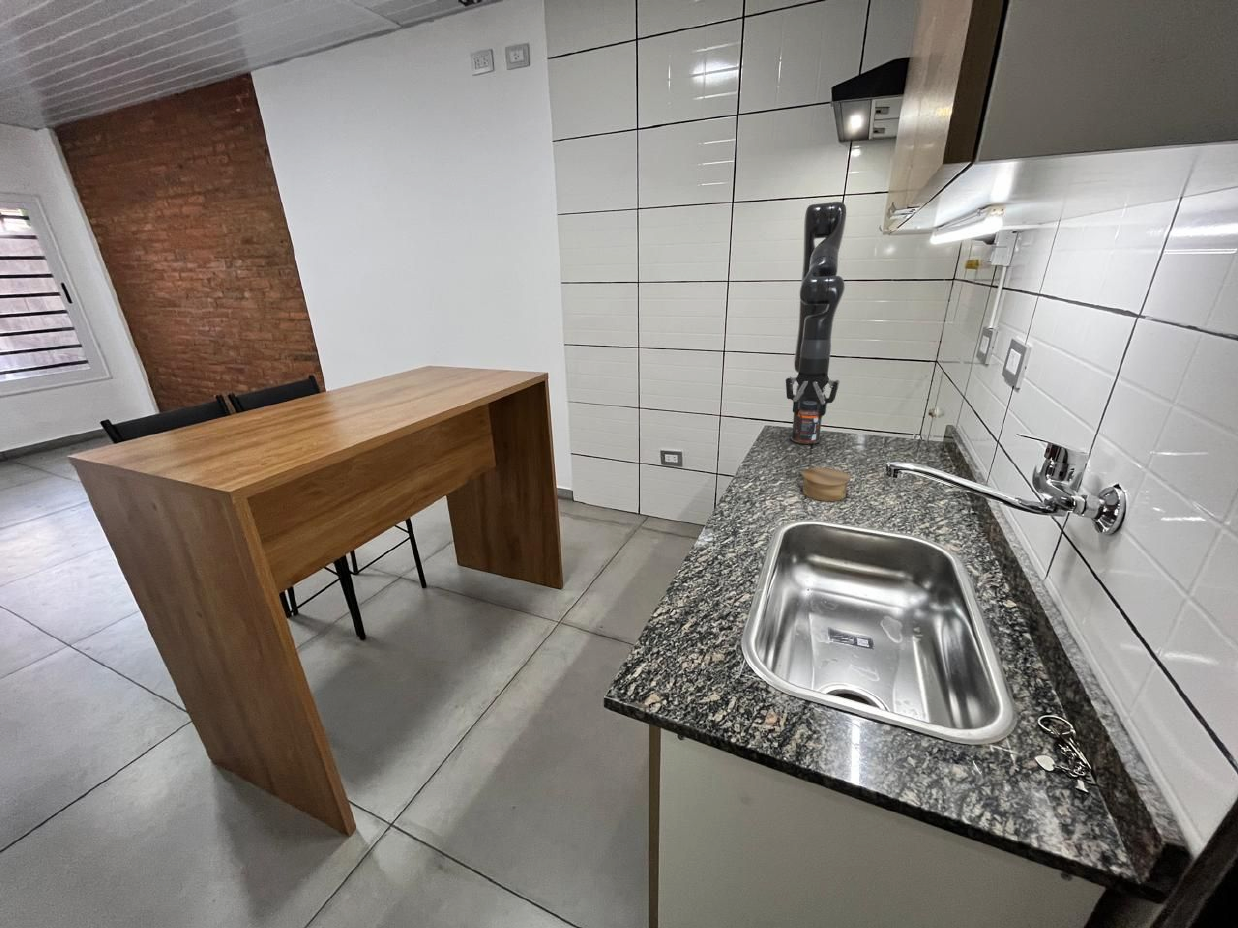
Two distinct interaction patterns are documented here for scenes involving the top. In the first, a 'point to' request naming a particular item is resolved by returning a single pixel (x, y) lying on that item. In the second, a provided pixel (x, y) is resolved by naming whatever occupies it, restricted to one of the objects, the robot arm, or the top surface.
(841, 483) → the stand
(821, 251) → the robot arm
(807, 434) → the supplement bottle
